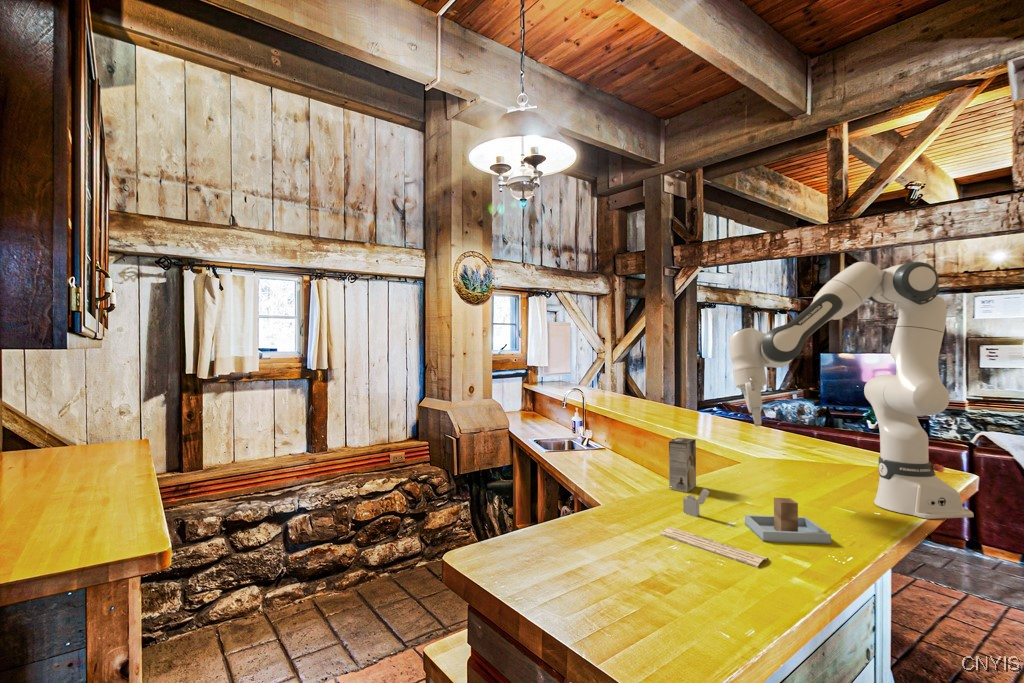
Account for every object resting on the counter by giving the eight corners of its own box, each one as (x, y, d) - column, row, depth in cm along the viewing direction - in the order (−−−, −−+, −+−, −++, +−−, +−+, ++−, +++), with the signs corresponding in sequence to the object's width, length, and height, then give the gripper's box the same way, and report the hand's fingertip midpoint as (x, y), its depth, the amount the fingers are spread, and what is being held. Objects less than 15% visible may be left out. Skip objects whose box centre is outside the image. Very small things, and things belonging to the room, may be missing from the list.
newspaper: (660, 538, 120) (660, 530, 121) (675, 530, 125) (675, 524, 125) (757, 571, 103) (757, 563, 103) (771, 561, 107) (771, 553, 107)
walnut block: (790, 529, 123) (790, 498, 123) (797, 535, 119) (797, 503, 119) (774, 528, 124) (773, 497, 124) (781, 534, 120) (781, 502, 120)
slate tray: (806, 526, 127) (806, 517, 127) (831, 544, 115) (830, 534, 115) (744, 523, 128) (744, 514, 128) (763, 541, 117) (763, 531, 117)
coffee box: (677, 483, 167) (677, 436, 167) (696, 486, 163) (696, 439, 163) (668, 489, 159) (668, 441, 159) (688, 492, 155) (688, 443, 156)
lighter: (682, 513, 137) (682, 484, 137) (686, 511, 138) (686, 483, 138) (706, 519, 131) (706, 490, 131) (709, 518, 132) (709, 489, 132)
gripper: (762, 373, 137) (771, 421, 134) (761, 383, 155) (768, 426, 151) (738, 375, 140) (746, 423, 136) (739, 385, 158) (747, 428, 154)
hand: (758, 425), depth 144 cm, fingers open, 8 cm apart
